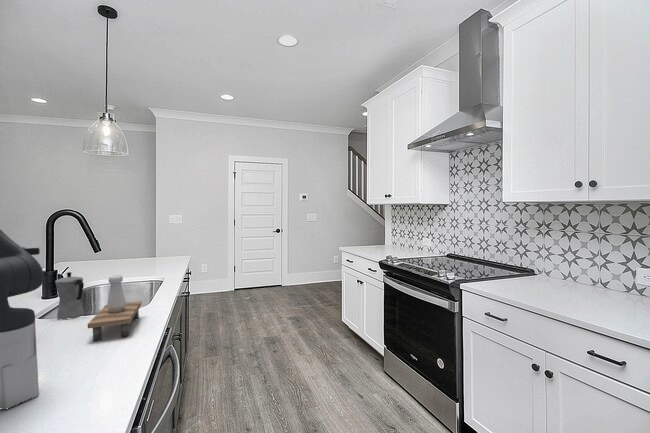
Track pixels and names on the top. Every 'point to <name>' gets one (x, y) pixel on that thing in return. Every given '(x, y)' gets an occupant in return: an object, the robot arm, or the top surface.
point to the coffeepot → (70, 297)
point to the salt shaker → (116, 295)
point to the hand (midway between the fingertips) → (33, 252)
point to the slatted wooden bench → (115, 319)
